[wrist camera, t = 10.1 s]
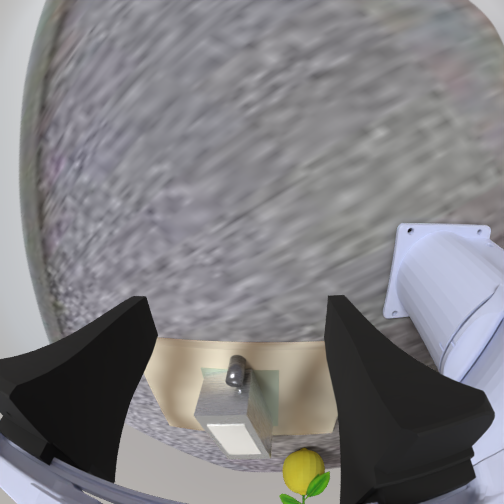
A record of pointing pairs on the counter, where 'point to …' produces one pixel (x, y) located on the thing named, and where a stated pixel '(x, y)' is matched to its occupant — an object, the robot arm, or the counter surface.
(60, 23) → the counter surface
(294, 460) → the lemon
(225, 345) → the pin tray
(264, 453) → the block
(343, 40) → the counter surface
